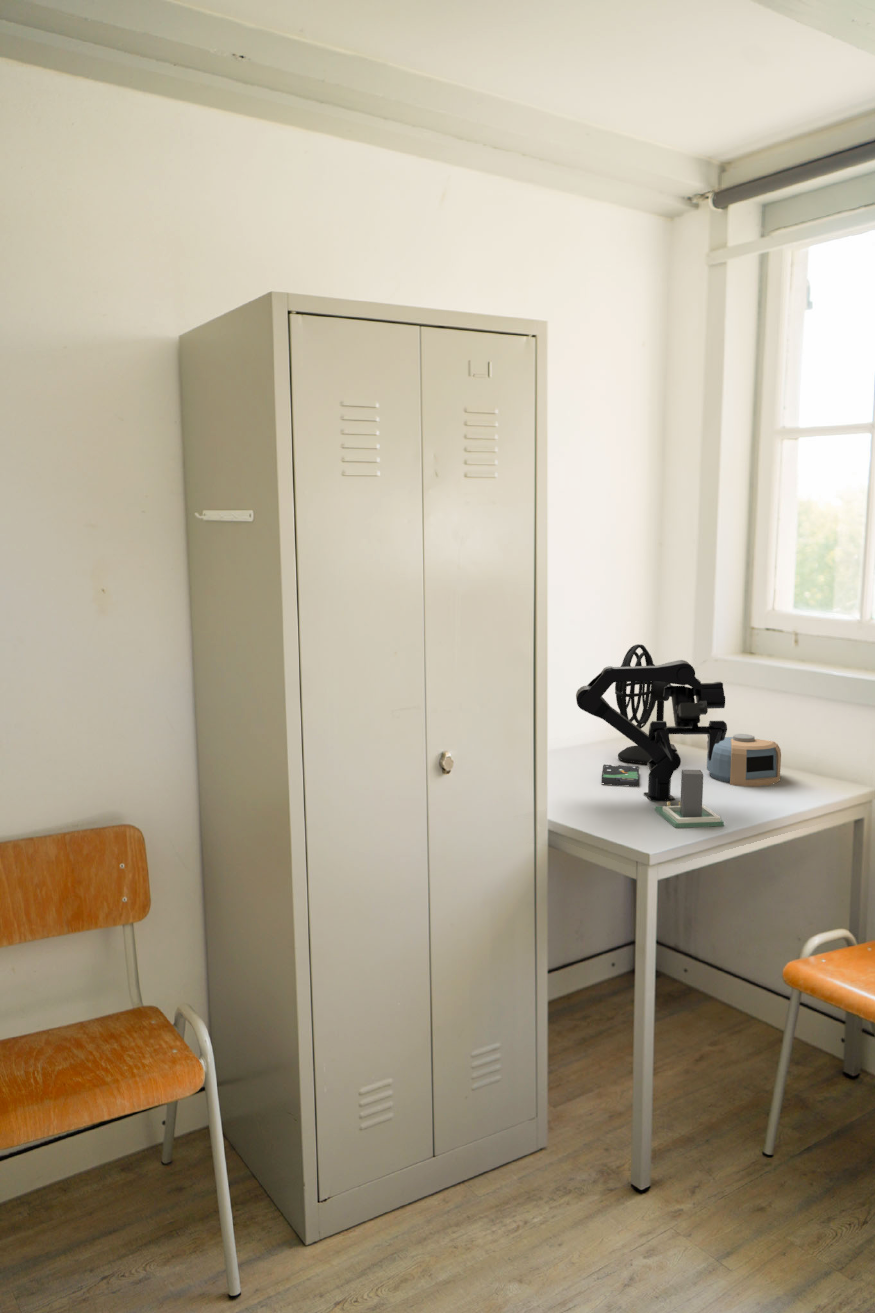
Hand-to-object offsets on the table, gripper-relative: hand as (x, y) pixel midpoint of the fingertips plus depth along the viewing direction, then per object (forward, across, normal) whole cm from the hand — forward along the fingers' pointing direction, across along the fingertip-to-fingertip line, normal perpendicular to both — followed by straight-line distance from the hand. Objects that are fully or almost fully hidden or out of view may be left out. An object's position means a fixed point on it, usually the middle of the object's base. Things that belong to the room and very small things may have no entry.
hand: (691, 759), depth 235 cm
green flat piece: (+12, -1, +7) cm, 14 cm away
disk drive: (-13, -14, +32) cm, 38 cm away
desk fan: (-32, -4, +51) cm, 60 cm away
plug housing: (+13, -1, +5) cm, 14 cm away
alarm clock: (-16, +21, +37) cm, 45 cm away
